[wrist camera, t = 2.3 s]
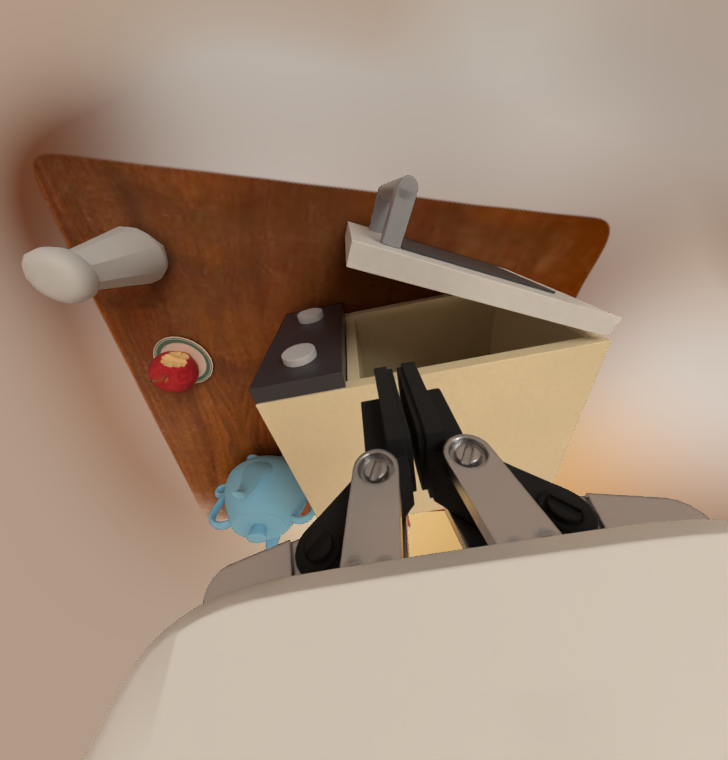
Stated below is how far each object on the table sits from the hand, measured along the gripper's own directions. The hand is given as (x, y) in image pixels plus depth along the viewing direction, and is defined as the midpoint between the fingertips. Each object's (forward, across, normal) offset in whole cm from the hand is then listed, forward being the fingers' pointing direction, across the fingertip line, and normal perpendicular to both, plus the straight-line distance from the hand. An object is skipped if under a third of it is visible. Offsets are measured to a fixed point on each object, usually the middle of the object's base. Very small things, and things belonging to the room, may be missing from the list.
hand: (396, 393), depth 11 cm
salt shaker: (+27, +25, -6) cm, 37 cm away
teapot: (+27, +25, +36) cm, 52 cm away
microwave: (+27, -4, +16) cm, 31 cm away
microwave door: (+27, -10, -2) cm, 29 cm away
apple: (+27, +28, +8) cm, 40 cm away
